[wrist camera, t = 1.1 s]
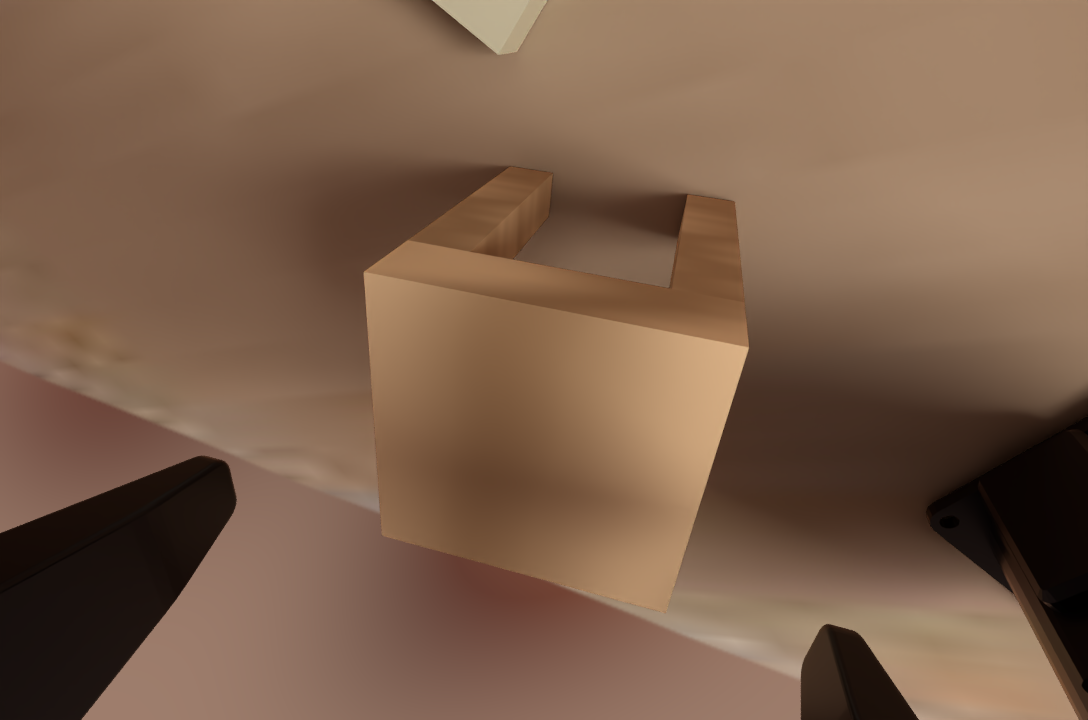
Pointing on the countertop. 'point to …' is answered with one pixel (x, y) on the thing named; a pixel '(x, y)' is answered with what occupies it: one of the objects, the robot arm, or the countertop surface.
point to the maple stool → (552, 394)
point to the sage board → (496, 20)
